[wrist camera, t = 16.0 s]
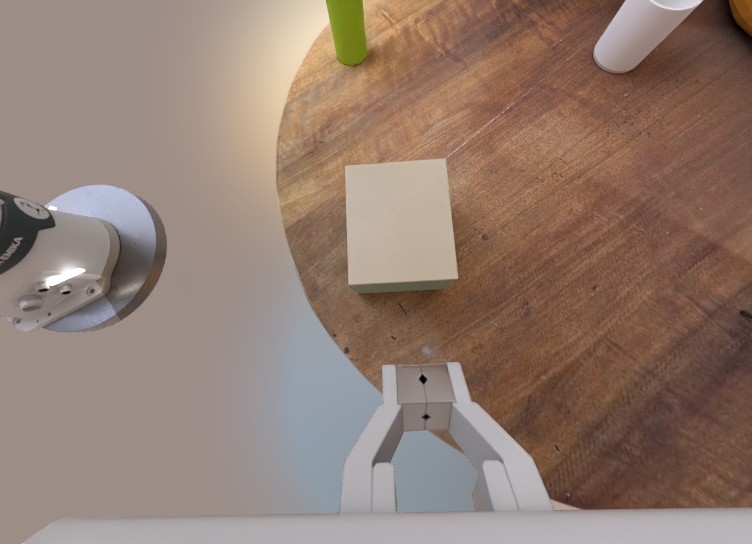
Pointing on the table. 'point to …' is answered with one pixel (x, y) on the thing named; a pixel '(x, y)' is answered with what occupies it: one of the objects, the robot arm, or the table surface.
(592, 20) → the table surface
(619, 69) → the mug
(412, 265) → the lid
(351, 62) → the soap dispenser
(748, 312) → the sunglasses
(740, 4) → the bread
